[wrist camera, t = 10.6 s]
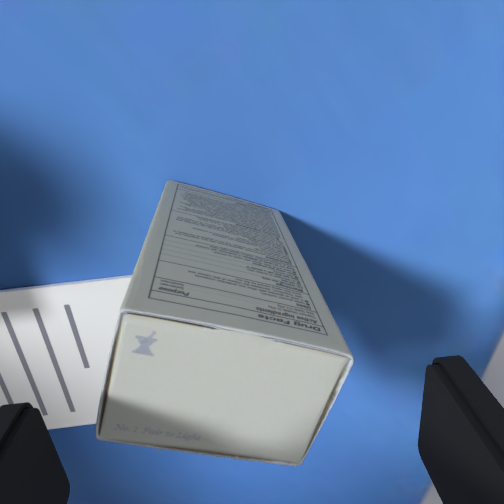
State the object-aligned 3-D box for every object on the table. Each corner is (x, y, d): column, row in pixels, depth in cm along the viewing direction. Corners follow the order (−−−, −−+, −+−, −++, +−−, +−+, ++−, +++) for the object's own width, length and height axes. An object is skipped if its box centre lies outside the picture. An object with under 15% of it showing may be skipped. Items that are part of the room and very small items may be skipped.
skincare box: (149, 252, 22) (80, 442, 11) (167, 173, 20) (109, 304, 9) (261, 280, 23) (300, 476, 12) (287, 207, 22) (360, 358, 10)
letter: (-41, 437, 26) (-44, 441, 26) (-114, 303, 22) (-118, 306, 22) (179, 409, 27) (179, 413, 26) (149, 272, 22) (148, 275, 22)
